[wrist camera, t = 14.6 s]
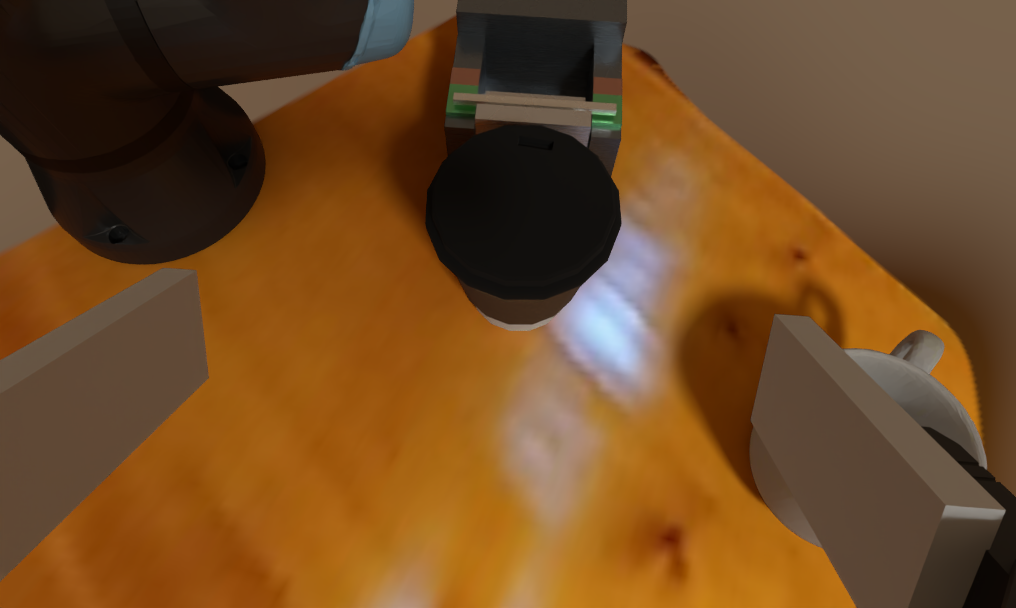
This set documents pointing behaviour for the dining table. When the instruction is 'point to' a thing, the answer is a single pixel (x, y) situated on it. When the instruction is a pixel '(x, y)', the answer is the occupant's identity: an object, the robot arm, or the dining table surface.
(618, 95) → the grey box
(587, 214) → the coffee cup
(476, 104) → the grey bracket with plate
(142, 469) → the dining table surface
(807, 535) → the teacup
